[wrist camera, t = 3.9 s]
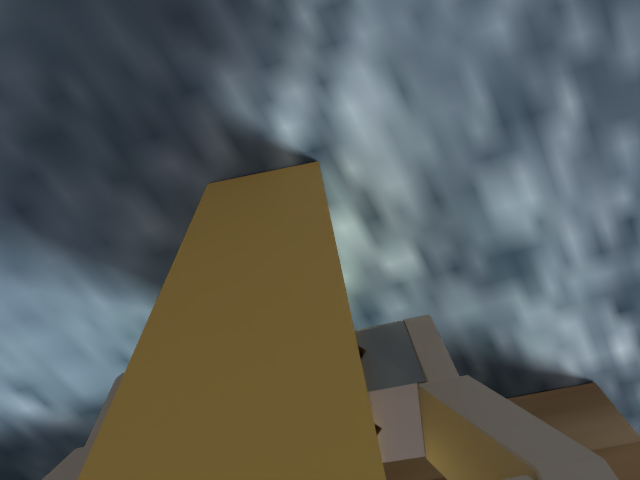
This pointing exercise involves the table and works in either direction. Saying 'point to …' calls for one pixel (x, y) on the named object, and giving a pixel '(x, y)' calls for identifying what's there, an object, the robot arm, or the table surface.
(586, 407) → the open wooden box
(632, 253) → the table surface
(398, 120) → the table surface
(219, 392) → the block
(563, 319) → the table surface
